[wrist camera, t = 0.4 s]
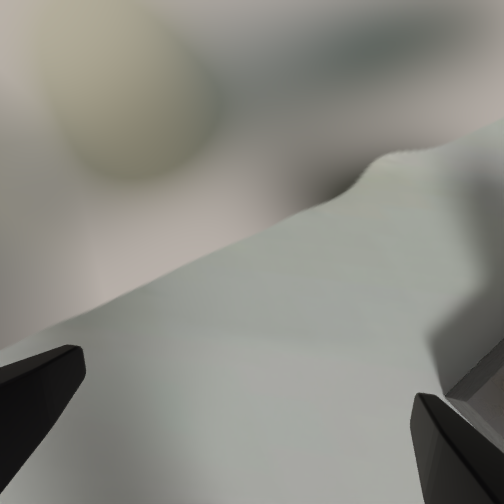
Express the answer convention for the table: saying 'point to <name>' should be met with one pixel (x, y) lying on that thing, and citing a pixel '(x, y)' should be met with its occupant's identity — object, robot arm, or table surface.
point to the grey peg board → (483, 396)
